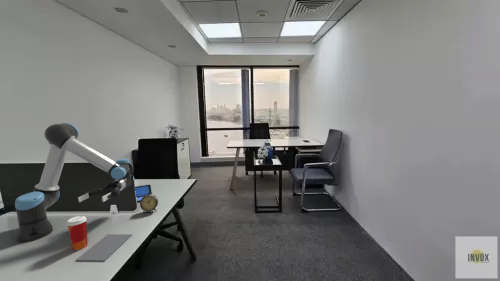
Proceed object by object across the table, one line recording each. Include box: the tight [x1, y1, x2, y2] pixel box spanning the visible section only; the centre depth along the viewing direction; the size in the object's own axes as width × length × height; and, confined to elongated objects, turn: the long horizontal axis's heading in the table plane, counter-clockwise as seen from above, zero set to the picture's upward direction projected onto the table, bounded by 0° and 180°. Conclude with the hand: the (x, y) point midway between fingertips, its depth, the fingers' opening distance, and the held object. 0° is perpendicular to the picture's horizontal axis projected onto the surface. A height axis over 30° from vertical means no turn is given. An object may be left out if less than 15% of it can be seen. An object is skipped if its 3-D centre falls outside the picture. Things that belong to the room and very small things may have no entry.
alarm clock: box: [139, 189, 159, 213], centre depth 154 cm, size 11×5×16 cm, turn 98°
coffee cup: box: [66, 215, 88, 251], centre depth 115 cm, size 8×8×15 cm
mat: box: [75, 233, 133, 262], centre depth 115 cm, size 14×22×1 cm, turn 177°
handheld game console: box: [134, 184, 153, 203], centre depth 178 cm, size 16×13×9 cm
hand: (90, 199), depth 123 cm, fingers open, 13 cm apart
